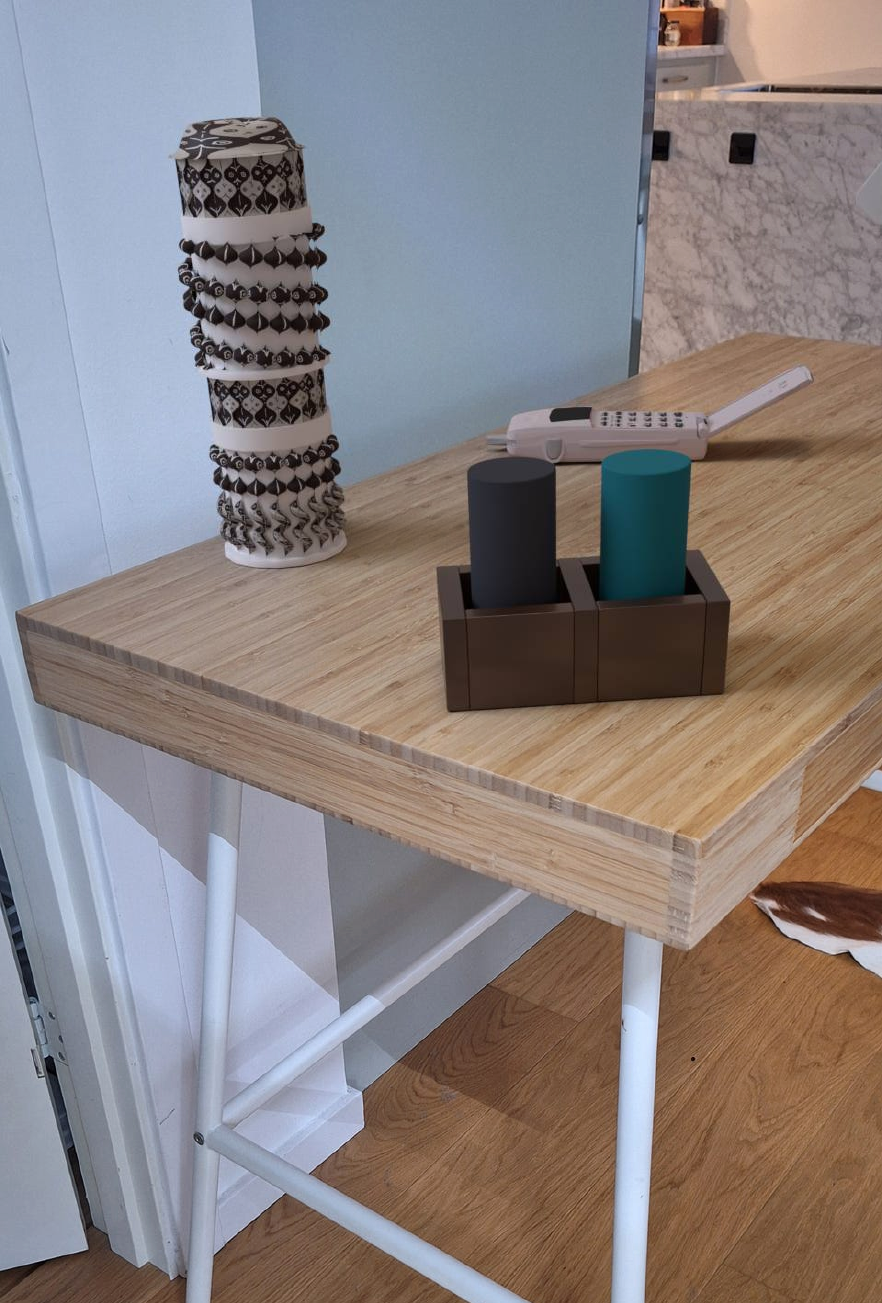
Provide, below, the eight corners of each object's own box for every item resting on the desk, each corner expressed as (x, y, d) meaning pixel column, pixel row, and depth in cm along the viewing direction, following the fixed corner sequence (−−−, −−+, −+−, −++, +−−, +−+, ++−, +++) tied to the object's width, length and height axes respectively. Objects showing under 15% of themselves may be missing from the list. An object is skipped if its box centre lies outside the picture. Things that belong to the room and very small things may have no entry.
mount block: (694, 636, 76) (700, 548, 73) (724, 693, 70) (731, 600, 67) (440, 652, 76) (436, 566, 73) (447, 712, 70) (442, 619, 67)
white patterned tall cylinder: (370, 555, 90) (334, 117, 76) (236, 579, 88) (171, 131, 73) (332, 518, 97) (291, 110, 83) (206, 538, 95) (142, 123, 80)
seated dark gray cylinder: (551, 657, 75) (550, 453, 68) (560, 690, 71) (560, 478, 65) (472, 662, 75) (464, 459, 68) (477, 696, 71) (469, 484, 65)
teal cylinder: (672, 651, 75) (682, 446, 68) (687, 683, 71) (699, 470, 65) (592, 656, 75) (595, 451, 68) (604, 689, 71) (608, 476, 65)
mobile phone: (817, 379, 99) (479, 386, 102) (808, 462, 102) (481, 466, 106) (808, 362, 104) (486, 369, 107) (800, 442, 107) (488, 446, 110)
